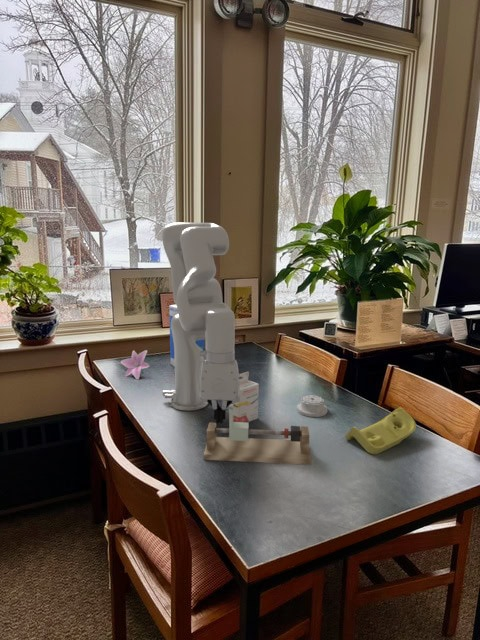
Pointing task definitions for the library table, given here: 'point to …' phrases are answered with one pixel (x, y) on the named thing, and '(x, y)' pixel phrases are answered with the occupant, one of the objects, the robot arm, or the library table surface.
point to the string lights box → (172, 312)
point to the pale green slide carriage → (237, 428)
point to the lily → (135, 364)
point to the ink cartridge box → (246, 400)
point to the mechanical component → (312, 406)
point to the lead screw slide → (260, 446)
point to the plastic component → (384, 432)
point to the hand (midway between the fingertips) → (219, 421)
